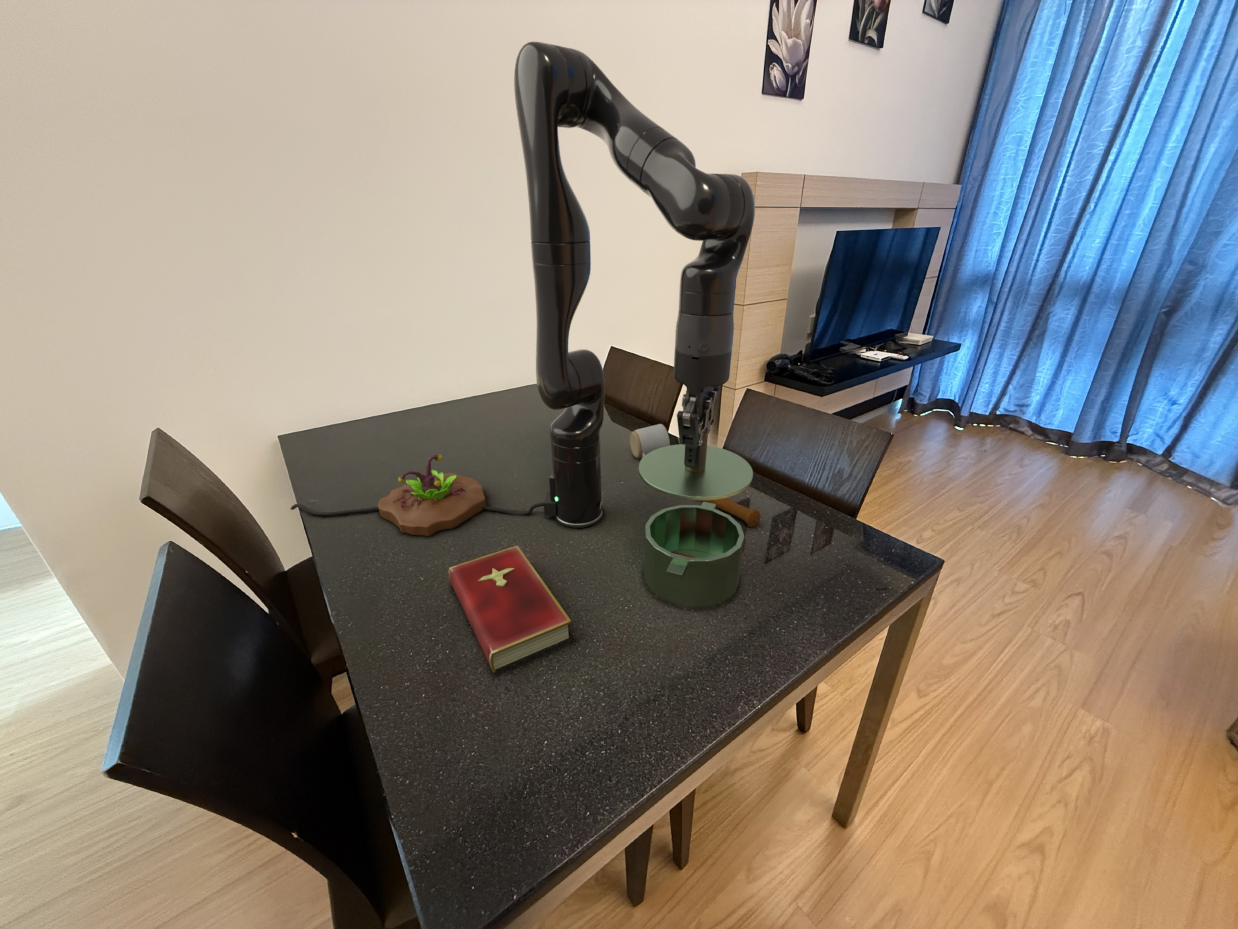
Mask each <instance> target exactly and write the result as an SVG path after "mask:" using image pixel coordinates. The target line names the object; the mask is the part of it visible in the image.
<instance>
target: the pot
mask: <svg viewBox="0 0 1238 929" xmlns="http://www.w3.org/2000/svg"><path fill="white" fill-rule="evenodd" d="M744 544H745V534H744V531H743V529H742V525H741V524H740V523H739V522H738V521H736V520H735V519H734V518H733V517H732V516H731V514H728V513H725V512H724V511H722V510H719V509H718V508H717V507H716V504H713V503H708V502H705V501H702V503H701V505H698V504H679V505H675V506H674V505H673V506H670V507H666V508H662V509H660V510H659V511H657V512H656V513H654V514H652V515H651V516H650V517H649V518H648V520H647V522H646V523H645V524H644V555H643V556H644V557H643V573H644V574H643V575H644V576H643V577H644V582H645V583H646V585H647V586H648V588H649V589H650V591H651V592H652V593H653V594H654V595H656V596H658V597H659V598H661V599H662V600H664V601H666V602H667V603H670V604H674V605H676V606H677V605H678V606H681V607H684V608H709V607H712V606H715V605H718V604H721V603H724V602H725V601H726V600H728V599H729V598H731V596H733V595H734V594H736V591H737V589H738V586H739V582H740V576H741V568H742V560H743V551H744ZM671 552H676V553H681V554H685V555H689V556H693V557H697V558H690V557H686V556H682V555H678V554H673V553H671Z"/></svg>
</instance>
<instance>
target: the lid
mask: <svg viewBox="0 0 1238 929" xmlns="http://www.w3.org/2000/svg"><path fill="white" fill-rule="evenodd" d="M690 436H691V435H690ZM702 440H703V442H702V446H701V459H700V466H699V467H698V468H697V469H695V468H690V467H686V466H685V465H684V456H685V445H682V444H680V443H679V444H672V445H671V444H670V446H666V447H662V448H659V449H656V450H653V451H652V452H650V453H648V454H647V455H645V456H644V457H643V458H642V459H640V461H639V464H638V475H639V477H640V479H641V481H642V482H643V483H644V484H645V485H646V486H647V487H649V488H651V489H653V490H654V491H656V492H658V493H660V494H663V495H665V496H668V497H671V498H676V499H681V500H686V501H701V502H705V500H718V499H723V498H728V499H729V498H731V497H734V496H737V495H738V494H739V495H740V494H741V493H742V492H744V491H745V490H747V489H748V488H749V487H750V485H751V484H752V482H753V478H754V471H753V468H752V466H751V464H750V463H749V462H748V461H747V460H746V459H744V457H742V456H741V455H739V454H736V453H735V452H733V451H730V450H727V449H725V448H722V447H717V446H714V445H708V440H709V434H708V430H707V429H705V430H703V438H702Z"/></svg>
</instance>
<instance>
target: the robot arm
mask: <svg viewBox="0 0 1238 929" xmlns="http://www.w3.org/2000/svg"><path fill="white" fill-rule="evenodd" d="M514 64H515V65H514V71H513V72H514V73H513V74H514V75H513V89H514V103H515V111H516V117H517V121H518V122H517V123H518V130H519V136H520V142H521V149H522V156H523V163H524V167H525V168H524V170H525V178H526V187H527V200H528V212H529V228H530V230H529V231H530V232H529V233H530V234H529V235H530V249H531V263H532V272H533V273H532V274H533V282H534V296H535V312H536V313H535V316H536V317H535V318H536V320H535V321H536V334H535V336H536V337H535V341H536V342H535V378H536V386H537V387H536V388H537V391H538V394H539V397H540V398H541V401H542V402H543V404H544V405H545V406H546V407H547V408H548V409H550V410H554V411H559V410H560V411H561V410H563V411H562V412H561V413H560V414H559V415H558V416H557V417H556V418H554V420H553V421H552V422H551V424H550V427H549V435H550V438H549V439H550V450H551V451H550V452H551V463H552V473H551V474H549V476H548V482H549V485H548V486H549V491H547V492H546V494H545V497H544V500H543V502H537V503H534V504H531V506H530V507H529V509H528V510H526V511H513V510H509V509H504V508H500V507H493V506H487V505H486V506H483V509H484V510H485V511H488V512H489V511H491V512H498V513H503V514H506V515H511V516H527V515H530V514H532V513H533V511H534V509H536V508H539V507H543V514H544V516H550V517H551V519H554V520H556V521H557V522H558V523H559V524H560V525H562V526H564V527H566V528H567V527H568V528H574V529H582V528H587V527H590V526H593V525H595V524H597V523H598V522H600V521H601V520H602V517H603V502H604V496H603V495H602V463H601V429H602V427H603V424H604V418H605V393H606V392H605V391H606V390H605V388H606V385H605V383H606V382H605V373H604V369H603V366H602V362H601V361H600V359H599V357H598V356H597V355H596V354H595V352H593V351H592V350H589V349H586V348H584V349H581V348H580V349H576V350H571V351H569V338H570V330H571V325H572V322H573V320H574V316H575V314H576V311H577V310H578V307H579V305H580V303H581V301H582V298H583V296H584V294H585V291H586V289H587V286H588V284H589V281H590V277H591V269H592V255H591V254H592V253H591V250H592V249H591V231H590V225H589V222H588V219H587V216H586V214H585V212H584V210H583V207H582V205H581V203H580V201H579V199H578V198H577V197H578V196H576V193H575V192H574V190H573V188H572V186H571V184H570V182H569V179H568V178H567V174H566V172H565V169H564V166H563V161H562V157H561V156H562V155H561V148H560V139H559V138H560V137H559V128H564V129H573V128H577V129H581V130H584V131H586V132H588V133H591V134H592V135H594V136H596V137H597V138H599V139H600V140H602V141H603V142H604V143H605V144H606V146H607V149H608V152H609V155H610V158H611V159H612V162H613V163H614V166H615V167H616V168H617V169H618V171H619V172H621V174H622V175H623V176H624V177H625V178H626V179H627V180H628V181H630V182H631V183H632V184H633V185H634V186H635V187H637V188H638V189H639V190H640V191H641V192H643V193H644V194H645V195H647V196H648V198H651V200H652V201H653V203H654V205H655V207H656V208H657V210H658V211H659V212H660V214H661V215H662V218H664V220H665V221H666V223H667V224H668V225H669V227H670V228H671V229H672V230H673V231H675V233H677V234H678V235H680V236H681V237H683V238H685V239H688V240H691V241H696V242H701V245H700V249H699V252H698V254H697V255H696V258H694V259H693V260H691V261H689V262H688V263H686V264H685V265H684V266H683V267H682V269H681V272H680V278H679V290H678V291H679V292H678V311H677V318H676V323H675V324H676V325H675V333H674V334H675V336H674V337H675V339H674V359H673V362H674V363H673V378H674V380H675V381H676V382H678V383H679V384H682V385H683V386H685V387H686V390H685V393H683V395H682V400H681V406H682V410H678V412H677V413H676V420H677V421H676V422H677V430H678V439H679V440H678V441H679V444H682V445H685V456H684V465H685V466H686V467H690V468H695V469H697V468H698V467H699V466H700V459H701V446H702V442H703V440H702V438H703V430H705V429H707V430H708V435H709V434H710V432H711V430H712V429H711V426H713V425H714V422H715V413H716V408H717V403H718V397H719V396H718V395H719V392H720V386H723V385H725V384H726V383H727V382H728V381H729V380H730V373H731V362H732V352H733V341H734V330H735V329H734V328H735V326H734V325H735V324H734V323H735V322H734V311H735V310H734V309H735V301H736V300H735V299H736V289H737V277H738V274H739V271H740V269H741V266H742V264H743V260H744V257H745V254H746V251H747V247H748V245H749V241H750V237H751V235H752V232H753V227H754V222H755V215H756V203H755V196H754V192H753V189H752V187H751V185H750V183H749V182H748V180H746V179H745V177H742V176H741V175H738V174H734V173H710V172H709V173H707V172H704V171H702V170H700V169H699V168H697V163H696V159H695V156H694V154H693V152H692V151H691V149H690V148H689V146H687V145H686V144H685V143H683V141H681V140H680V139H679V138H677V137H675V136H674V135H673V134H671V133H670V132H669V131H668V130H667V129H665V128H663V127H662V126H660V125H659V124H657V122H655V121H654V120H652V119H651V118H649V117H648V116H647V115H645V114H644V113H643V112H642V111H640V109H638V108H637V107H636V106H635V105H634V104H632V102H630V101H629V99H628V98H626V96H625V95H624V94H623V93H622V92H621V91H620V90H619V89H618V88H617V87H616V85H614V84H613V82H612V81H611V80H610V79H609V78H608V76H606V74H605V72H604V71H603V70H602V69H601V68H600V67H599V65H598V64H596V63H595V61H594V60H592V59H591V57H589V55H588V54H586V53H585V52H583V51H580V50H578V49H575V48H571V47H567V46H562V45H556V44H552V43H547V42H546V43H545V42H542V41H528V42H526V43H525V44H524V45H523V46H521V48H520V49H519V51H518V54H517V56H516V59H515V63H514ZM690 435H691V436H690ZM299 505H300V506H299ZM297 508H299V509H301V510H303V511H304V512H306V513H308V514H310V515H312V516H317V517H318V516H319V517H330V516H331V517H332V516H333V517H334V516H341V515H350V514H360V513H369V512H376V511H379V509H378V506H373V507H365V508H357V509H347V510H346V509H345V510H339V511H317V510H316V511H314V510H313V509H310V508H309V507H307V506H306V505H304V504H301V503H295V504H293V505H292V506H291V507H290V510H291V511H293V510H296V509H297Z"/></svg>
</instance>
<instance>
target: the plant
mask: <svg viewBox="0 0 1238 929" xmlns="http://www.w3.org/2000/svg"><path fill="white" fill-rule="evenodd" d="M443 459H444V457H443V456H442V455H441V454H438V453H436V454H433V455H430V457H429V458H428V460H427V463H426V466H425V472H426V473H425V474H422V473H421V472H420V471H415V470H410V471H409V470H408V471H407V472H406V471H405V473H403V474H401V475H400V476H399V477H398V479H397V480H398V483H400V484H403V483H404V482H406V483H404V484H403V485H402V486H400V487H397V488H392V489H391V490H390V492H389V494H388V495H386V496H384V497H381V498H379V500H378V503H377V507H378V509H379V510H378V513H379V515H380V517H381V518H383V519H384V520H386V521H388V522H391V523H393V524H394V526H396V527H397V528H398V529H399V531H400V532H401V533H402V534H408V535H412V536H425V537H431V536H432V535H434V534H435V533H437V532H439V531H445V530H452V529H455V528H456V527H458V526H460V525H461V524H463V523H464V522H466V521H468V520H469V519H470V518H472V517H473V516H475V515H477V514H479V513H480V512H482V511H483V510H484V509H483V506H487V502H486V501H487V500H486V496H485V489H484V487H483V485H482V484H481V483H480V482H478V481H477V480H475V479H474V478H473V477H469V476H462V475H460V474H457V473H454V472H446V473H444V472H443V471H440V472H438V471H437V470H435V469H432V460H434V461H435V462H437V463H439V462H442V460H443ZM408 475H414V476H415V477H416V478H417V480H416V479H406V476H408Z"/></svg>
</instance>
